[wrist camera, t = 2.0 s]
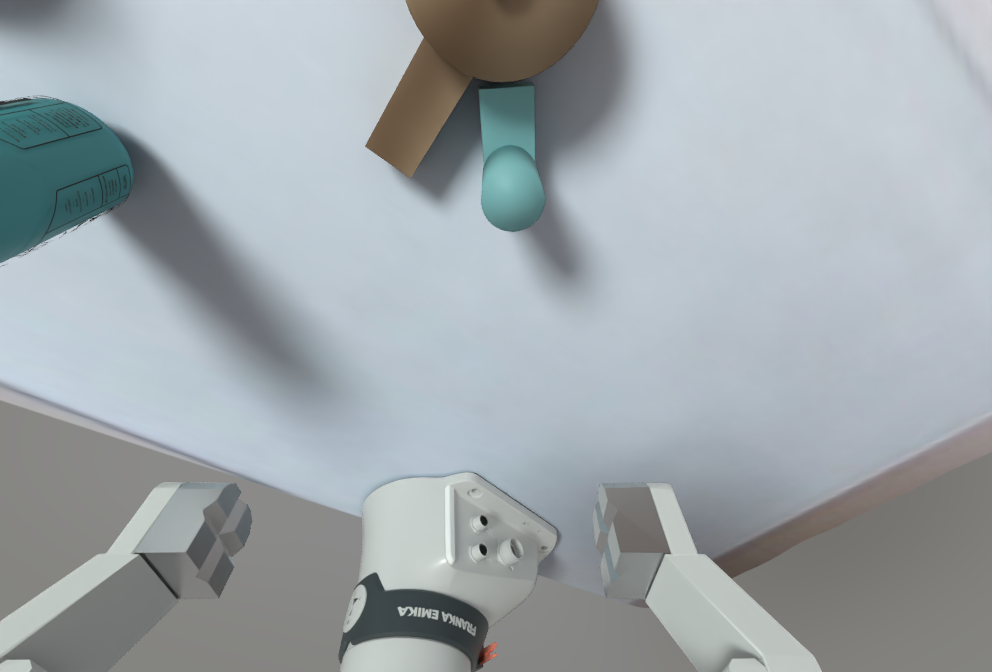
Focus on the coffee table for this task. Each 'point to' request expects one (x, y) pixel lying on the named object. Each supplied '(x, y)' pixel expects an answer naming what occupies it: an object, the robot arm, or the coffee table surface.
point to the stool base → (470, 62)
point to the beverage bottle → (55, 171)
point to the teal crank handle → (509, 156)
